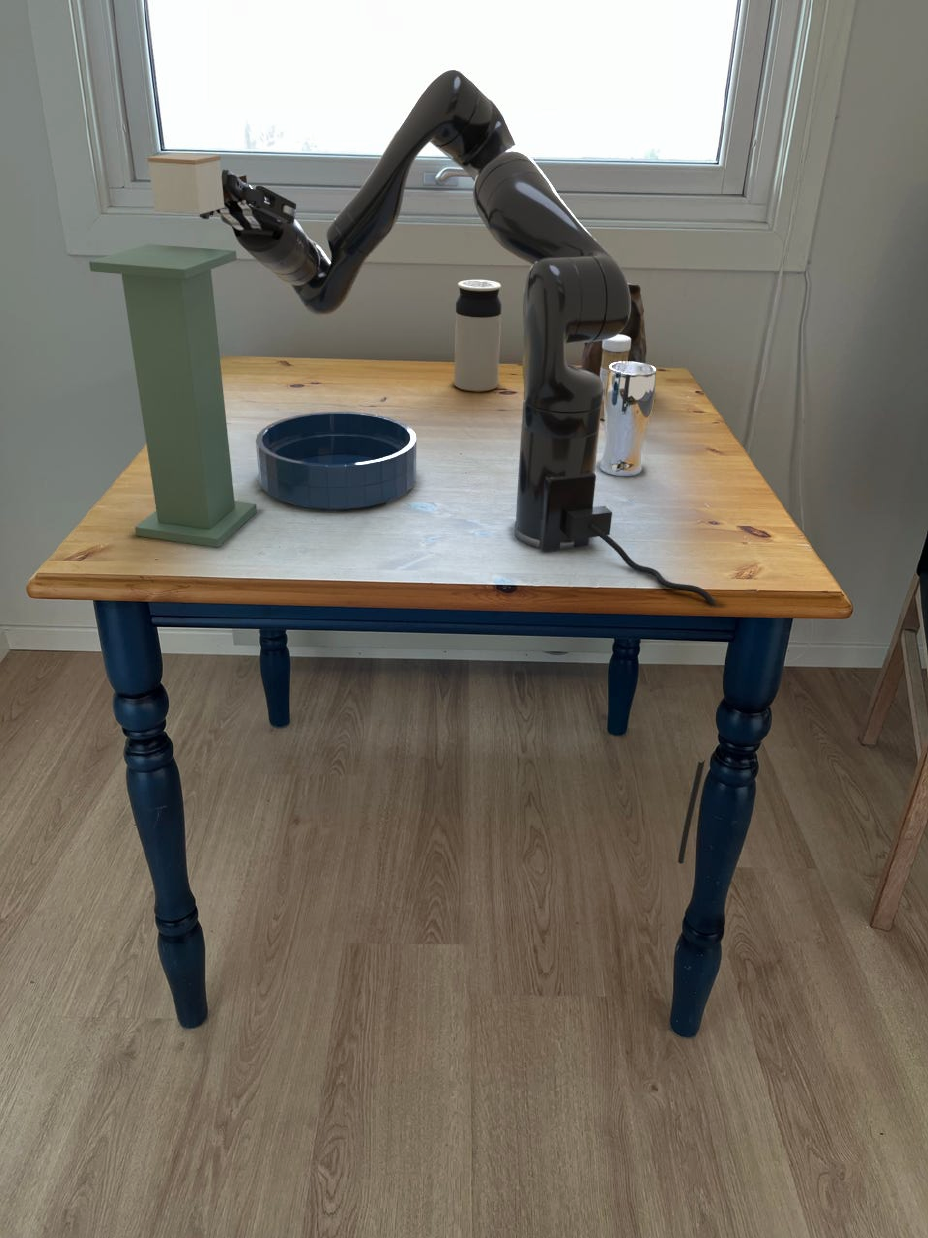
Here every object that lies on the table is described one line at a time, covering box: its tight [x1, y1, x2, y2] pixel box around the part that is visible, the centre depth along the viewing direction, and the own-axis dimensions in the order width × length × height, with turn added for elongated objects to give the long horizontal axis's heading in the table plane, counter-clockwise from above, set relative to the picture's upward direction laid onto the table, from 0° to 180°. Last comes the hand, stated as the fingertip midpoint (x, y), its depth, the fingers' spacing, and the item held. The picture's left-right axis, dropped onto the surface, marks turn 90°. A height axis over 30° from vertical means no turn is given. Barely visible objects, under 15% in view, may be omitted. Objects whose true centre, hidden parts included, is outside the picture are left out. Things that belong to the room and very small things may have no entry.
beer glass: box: [599, 362, 657, 477], centre depth 136 cm, size 7×7×15 cm
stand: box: [88, 243, 258, 548], centre depth 111 cm, size 12×11×32 cm
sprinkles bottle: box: [600, 334, 631, 421], centre depth 157 cm, size 5×5×14 cm
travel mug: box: [453, 279, 503, 393], centre depth 169 cm, size 8×8×18 cm
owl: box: [580, 282, 648, 377], centre depth 167 cm, size 13×13×20 cm
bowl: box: [255, 411, 417, 511], centre depth 131 cm, size 22×22×6 cm
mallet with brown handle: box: [146, 152, 248, 215], centre depth 110 cm, size 16×6×5 cm, turn 166°
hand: (215, 177), depth 111 cm, fingers closed on mallet with brown handle
